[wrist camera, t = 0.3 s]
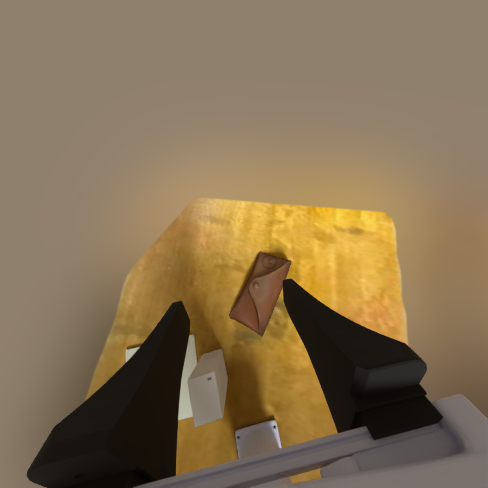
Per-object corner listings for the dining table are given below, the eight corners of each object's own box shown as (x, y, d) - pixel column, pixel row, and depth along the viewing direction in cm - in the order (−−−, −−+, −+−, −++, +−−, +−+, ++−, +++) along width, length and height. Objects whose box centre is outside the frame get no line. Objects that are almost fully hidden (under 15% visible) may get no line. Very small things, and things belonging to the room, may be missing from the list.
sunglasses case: (258, 248, 44) (275, 248, 38) (277, 261, 47) (296, 262, 41) (227, 319, 39) (241, 330, 33) (250, 328, 42) (267, 340, 36)
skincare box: (202, 353, 37) (186, 378, 25) (222, 347, 37) (214, 369, 26) (208, 386, 35) (193, 429, 24) (228, 379, 36) (224, 418, 24)
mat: (203, 411, 34) (202, 413, 33) (128, 432, 33) (126, 434, 32) (194, 334, 38) (193, 334, 37) (127, 349, 37) (125, 350, 36)
